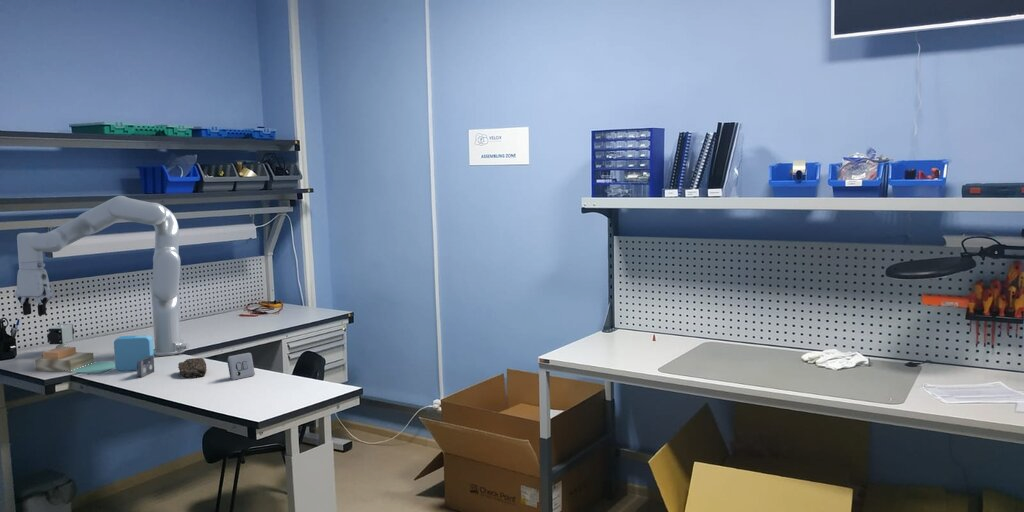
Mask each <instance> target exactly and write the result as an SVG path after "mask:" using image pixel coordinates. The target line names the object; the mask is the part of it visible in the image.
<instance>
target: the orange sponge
mask: <svg viewBox="0 0 1024 512" xmlns="http://www.w3.org/2000/svg"><path fill="white" fill-rule="evenodd" d="M76 348H77V347H76V346H68V347H58V348H56V347H55V348H52V349H48V350H45V351H43V352H42V357H43V359H60V358H63V357H66V356H69V355H72V354H75V353H76V352H77V350H76Z"/></svg>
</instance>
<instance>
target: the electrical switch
mask: <svg viewBox="0 0 1024 512" xmlns="http://www.w3.org/2000/svg"><path fill="white" fill-rule="evenodd" d="M226 363H227V367H228V374H229V378H230V379H231V380H232V381H235V380H240V379H245V378H249V377H254V376H255V374H256V373H255V367H254V366H255V365H254V361H253V355H252V353H251V352H246V353H239V354H236V355H235V354H234V355H229V356H228V357H227V359H226Z"/></svg>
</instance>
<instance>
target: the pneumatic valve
mask: <svg viewBox="0 0 1024 512" xmlns="http://www.w3.org/2000/svg"><path fill="white" fill-rule="evenodd" d="M47 330H48V333H47V334H46V336H47V342H48V343H49V345H55V348H58V347H70V346H69V344H68V342H70V341H73V340H74V338H75V337H74V334H75V329H74V325H73V323H71V324H70V323H69V324H68V323H67V324H63V323H59V324H58V325H56V326H52V327H50V328H48V329H47Z"/></svg>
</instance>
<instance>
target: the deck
mask: <svg viewBox="0 0 1024 512" xmlns="http://www.w3.org/2000/svg"><path fill="white" fill-rule="evenodd" d="M94 357H95V356H94V352H81V351H76V353H75V354H72V355H69V356H66V357H63V358H60V359H43V356H42V357H38V358H35V359H34V362H35V363H34V364H35V365H34V366H35V371H45V370H48V371H49V372H50V371H52V372H70V371H71V370H74V369H77V368H80V367H82V366H85V365H88V364H91V363H95V361H94V360H95V359H94ZM61 370H62V371H61ZM64 370H65V371H64ZM67 370H69V371H67Z"/></svg>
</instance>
